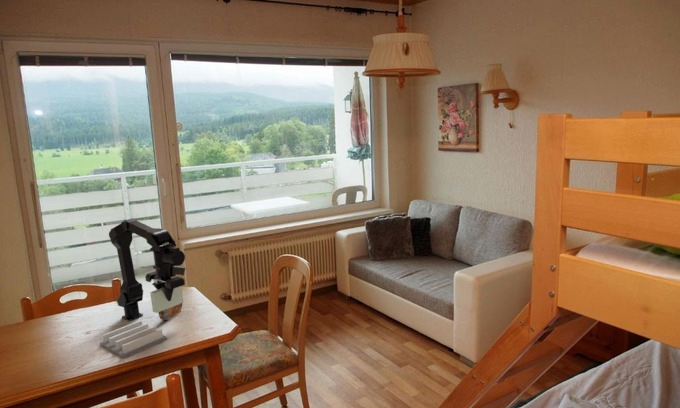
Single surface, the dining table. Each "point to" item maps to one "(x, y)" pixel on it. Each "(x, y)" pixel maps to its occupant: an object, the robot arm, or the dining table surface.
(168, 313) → the tin
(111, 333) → the dish rack
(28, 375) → the dining table surface
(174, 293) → the plate slab
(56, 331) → the dining table surface
